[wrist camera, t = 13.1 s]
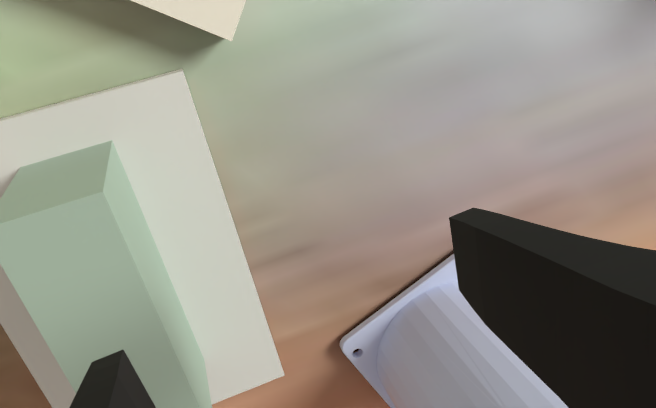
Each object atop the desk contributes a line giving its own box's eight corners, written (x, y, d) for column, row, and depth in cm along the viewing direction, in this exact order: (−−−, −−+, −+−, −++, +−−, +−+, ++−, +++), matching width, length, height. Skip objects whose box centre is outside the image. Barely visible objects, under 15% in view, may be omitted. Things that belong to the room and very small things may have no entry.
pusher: (204, 359, 23) (219, 451, 18) (133, 387, 22) (131, 488, 18) (112, 140, 18) (102, 191, 14) (20, 167, 18) (-20, 229, 13)
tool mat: (282, 368, 25) (284, 375, 24) (83, 447, 23) (82, 456, 23) (182, 68, 19) (183, 71, 18) (-100, 146, 17) (-106, 150, 16)
